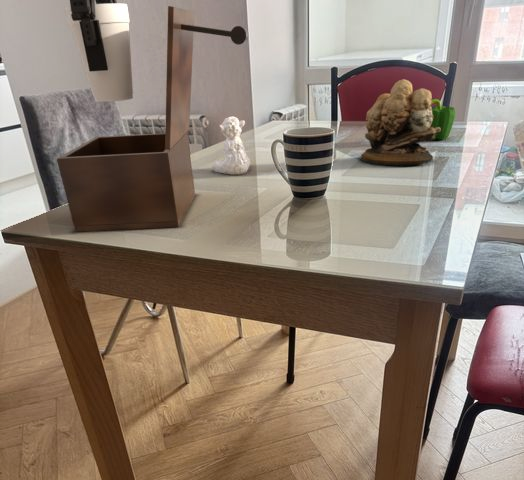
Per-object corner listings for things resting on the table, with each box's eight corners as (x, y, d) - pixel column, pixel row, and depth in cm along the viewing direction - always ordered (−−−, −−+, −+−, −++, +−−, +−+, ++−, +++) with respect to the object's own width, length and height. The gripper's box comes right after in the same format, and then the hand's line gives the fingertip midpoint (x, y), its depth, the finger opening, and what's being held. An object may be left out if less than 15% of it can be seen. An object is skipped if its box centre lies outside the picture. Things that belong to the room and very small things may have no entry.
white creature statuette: (249, 165, 123) (245, 111, 117) (261, 172, 116) (258, 115, 110) (211, 170, 121) (206, 116, 115) (221, 178, 114) (216, 120, 108)
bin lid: (167, 5, 70) (245, 17, 70) (189, 11, 86) (251, 20, 87) (164, 149, 79) (232, 158, 80) (185, 129, 96) (240, 136, 97)
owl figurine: (443, 157, 119) (454, 75, 110) (427, 169, 111) (438, 81, 102) (371, 153, 128) (375, 76, 119) (351, 163, 119) (354, 81, 110)
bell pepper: (449, 135, 142) (454, 96, 136) (454, 141, 135) (459, 99, 129) (418, 136, 143) (422, 97, 138) (421, 142, 136) (425, 101, 131)
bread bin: (75, 231, 87) (56, 158, 81) (108, 199, 104) (94, 136, 98) (178, 227, 86) (167, 152, 80) (195, 195, 103) (187, 131, 97)
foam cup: (126, 102, 80) (108, 2, 73) (74, 104, 82) (52, 7, 75) (151, 95, 88) (137, 4, 81) (103, 97, 90) (85, 9, 83)
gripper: (74, -96, 80) (105, 66, 92) (12, -135, 62) (61, 75, 73) (120, -99, 80) (145, 63, 92) (72, -140, 61) (111, 71, 73)
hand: (108, 68), depth 83 cm, fingers closed on foam cup, 9 cm apart
